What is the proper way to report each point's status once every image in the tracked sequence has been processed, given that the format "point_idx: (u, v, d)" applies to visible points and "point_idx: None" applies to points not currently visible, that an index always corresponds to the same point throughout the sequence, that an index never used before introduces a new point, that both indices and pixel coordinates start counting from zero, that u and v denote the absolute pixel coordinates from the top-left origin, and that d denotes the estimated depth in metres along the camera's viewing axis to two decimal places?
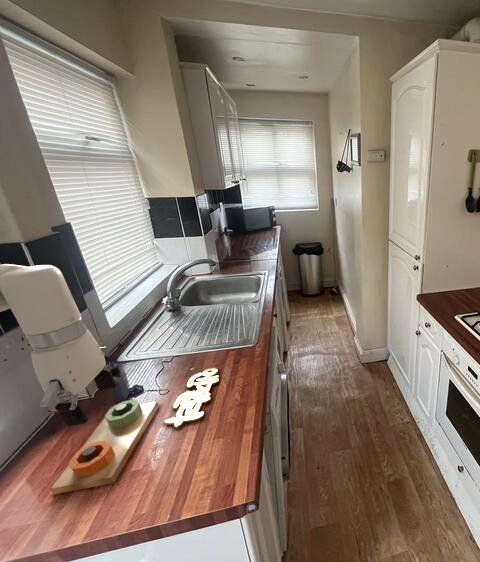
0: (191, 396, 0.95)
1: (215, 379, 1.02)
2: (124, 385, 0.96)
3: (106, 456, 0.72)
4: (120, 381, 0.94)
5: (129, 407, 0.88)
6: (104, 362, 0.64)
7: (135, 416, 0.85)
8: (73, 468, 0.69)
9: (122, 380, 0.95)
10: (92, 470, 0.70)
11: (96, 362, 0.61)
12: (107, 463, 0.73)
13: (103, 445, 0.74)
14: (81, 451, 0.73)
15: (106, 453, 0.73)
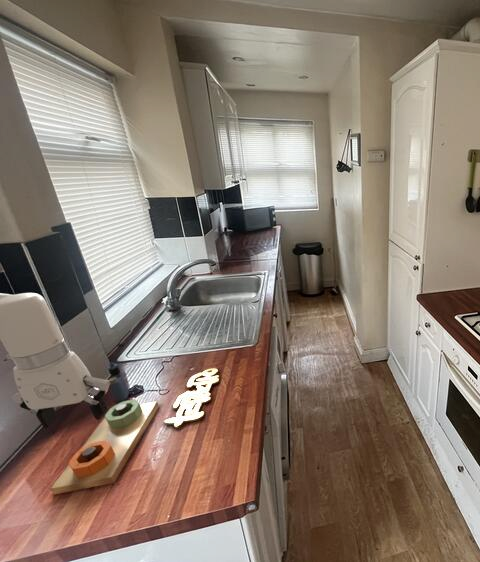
0: (191, 396, 0.95)
1: (215, 379, 1.02)
2: (124, 385, 0.96)
3: (106, 456, 0.72)
4: (120, 381, 0.94)
5: (129, 407, 0.88)
6: None
7: (135, 416, 0.85)
8: (73, 468, 0.69)
9: (122, 380, 0.95)
10: (92, 470, 0.70)
11: None
12: (107, 463, 0.73)
13: (103, 445, 0.74)
14: (81, 451, 0.73)
15: (106, 453, 0.73)
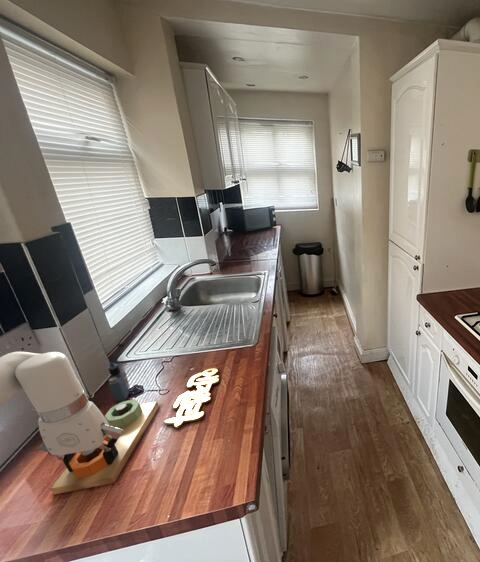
0: (191, 396, 0.95)
1: (215, 379, 1.02)
2: (124, 385, 0.96)
3: None
4: (120, 381, 0.94)
5: (129, 407, 0.88)
6: None
7: (135, 416, 0.85)
8: (73, 468, 0.69)
9: (122, 380, 0.95)
10: (92, 470, 0.70)
11: None
12: None
13: None
14: None
15: None
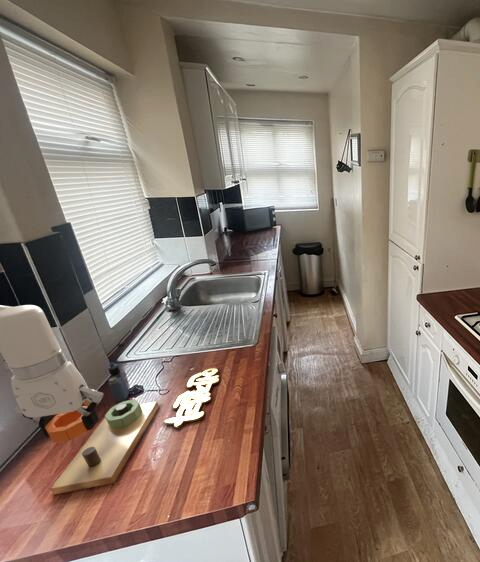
0: (191, 396, 0.95)
1: (215, 379, 1.02)
2: (124, 385, 0.96)
3: None
4: (120, 381, 0.94)
5: (129, 407, 0.88)
6: None
7: (135, 416, 0.85)
8: (49, 432, 0.65)
9: (122, 380, 0.95)
10: (70, 435, 0.66)
11: None
12: (86, 429, 0.69)
13: None
14: (59, 416, 0.69)
15: None
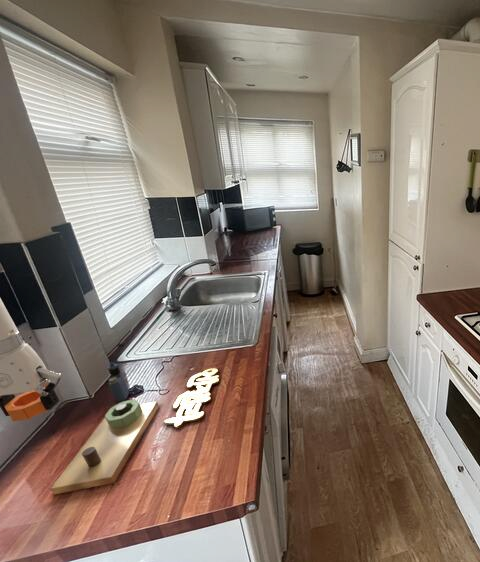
0: (191, 396, 0.95)
1: (215, 379, 1.02)
2: (124, 385, 0.96)
3: None
4: (120, 381, 0.94)
5: (129, 407, 0.88)
6: None
7: (135, 416, 0.85)
8: (8, 410, 0.68)
9: (122, 380, 0.95)
10: (28, 413, 0.69)
11: None
12: None
13: None
14: (20, 396, 0.72)
15: None
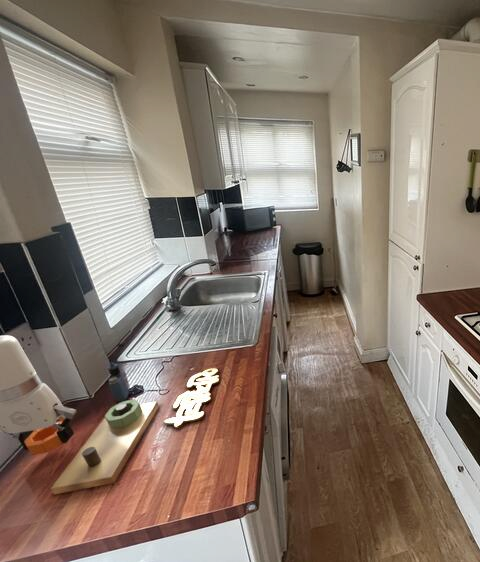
0: (191, 396, 0.95)
1: (215, 379, 1.02)
2: (124, 385, 0.96)
3: None
4: (120, 381, 0.94)
5: (129, 407, 0.88)
6: None
7: (135, 416, 0.85)
8: (27, 445, 0.73)
9: (122, 380, 0.95)
10: (46, 448, 0.75)
11: None
12: None
13: None
14: (37, 431, 0.77)
15: None
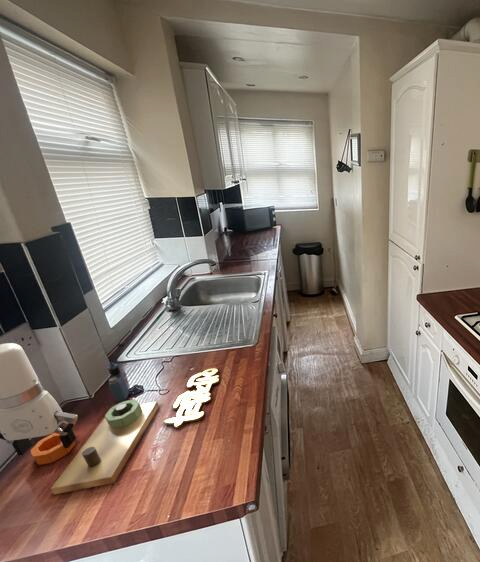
0: (191, 396, 0.95)
1: (215, 379, 1.02)
2: (124, 385, 0.96)
3: None
4: (120, 381, 0.94)
5: (129, 407, 0.88)
6: None
7: (135, 416, 0.85)
8: (34, 455, 0.75)
9: (122, 380, 0.95)
10: (52, 457, 0.76)
11: None
12: (67, 451, 0.78)
13: None
14: (43, 440, 0.79)
15: None
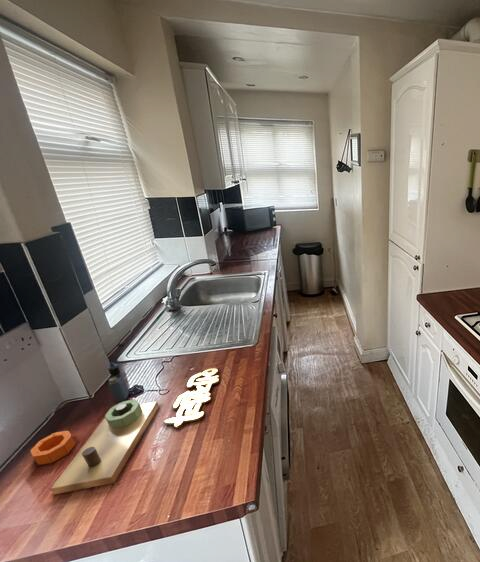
0: (191, 396, 0.95)
1: (215, 379, 1.02)
2: (124, 385, 0.96)
3: (66, 445, 0.78)
4: (120, 381, 0.94)
5: (129, 407, 0.88)
6: None
7: (135, 416, 0.85)
8: (34, 456, 0.75)
9: (122, 380, 0.95)
10: (52, 458, 0.76)
11: None
12: (67, 451, 0.78)
13: (64, 435, 0.80)
14: (43, 440, 0.79)
15: (66, 442, 0.78)
